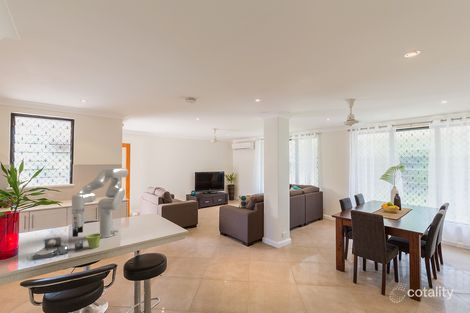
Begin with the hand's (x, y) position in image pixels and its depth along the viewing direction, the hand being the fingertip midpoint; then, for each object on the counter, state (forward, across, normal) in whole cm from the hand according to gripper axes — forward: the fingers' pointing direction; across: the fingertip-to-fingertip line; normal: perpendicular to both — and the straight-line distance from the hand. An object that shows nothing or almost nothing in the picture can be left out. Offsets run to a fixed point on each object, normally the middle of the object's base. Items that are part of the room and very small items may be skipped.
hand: (77, 234), depth 157 cm
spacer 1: (+11, -6, +6) cm, 14 cm away
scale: (+11, -2, +16) cm, 20 cm away
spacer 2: (+10, +1, -1) cm, 10 cm away
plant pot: (+10, -1, -11) cm, 15 cm away
